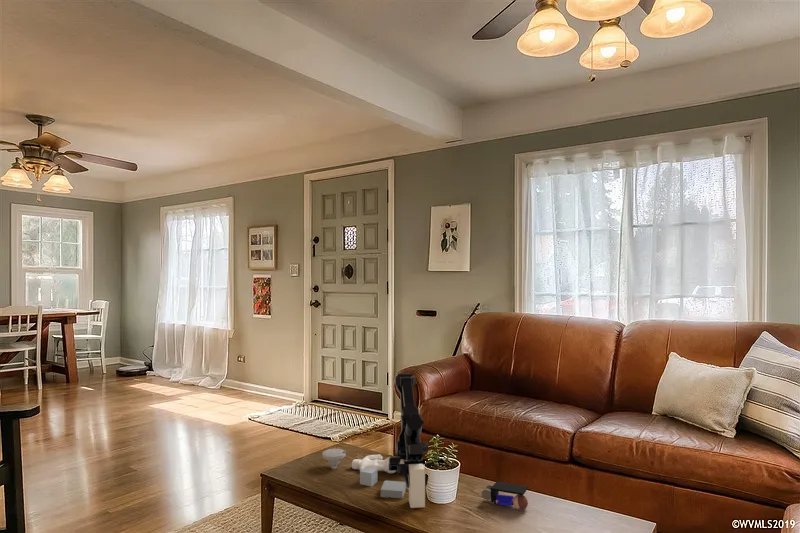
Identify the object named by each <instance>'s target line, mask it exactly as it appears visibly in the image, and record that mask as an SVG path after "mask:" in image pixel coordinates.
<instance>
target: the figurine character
mask: <svg viewBox="0 0 800 533" xmlns="http://www.w3.org/2000/svg"><path fill="white" fill-rule="evenodd" d="M528 489H529V486H528V485H522V484H515V483H509V482H502V481H498V480H497V481H495V483H494V484H492V483H490V484H487V486H486V487H485V488H484V489H483V490H482V491H481V496H482V498H483V499H484V500H486V501H489V500H490V502H488V505H494V506H497V505H501V506H510V507H514V508H515V509H516V510H518V511H524V510H526V509H527V507H528V506H529V505H528V504H529V501H528V498H527V496H525V493H526V492H527V491H528ZM500 492H503V493H507V494H513V495H514V496H513V495H506V494H499V493H500Z"/></svg>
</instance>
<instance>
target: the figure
mask: <svg viewBox="0 0 800 533" xmlns="http://www.w3.org/2000/svg"><path fill="white" fill-rule="evenodd" d="M390 457H391V456H389V457H387V458H385V459H383V456H382V455H381V453H379V454H371V455H365V457H363V458H362V459H361V458H360V459H358V458H357V459H356V458H355V459H353V460H352V462H351V467H352V469H353V470H358V471H359V472H360V471H361V470H362V469H364V468H365V467H371V468H377V472H379V471H380V472H381V471H384V472H385V473H387V474H389V475H391V474H394V473H397V470H396V471H390V470H389V466H388V463H389V458H390Z"/></svg>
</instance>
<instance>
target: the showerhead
mask: <svg viewBox="0 0 800 533" xmlns="http://www.w3.org/2000/svg"><path fill="white" fill-rule="evenodd" d="M346 453H347V450H344V449H342V448H329V449H325V450H324V451H323V452H322V458H323V459H324V460H327V464H328V465H330V466H331V467H330V468H331V469H332V470H334V469H337V466H338V465H339V464H340V462H341V460H342V459H343V458H345V457H346Z"/></svg>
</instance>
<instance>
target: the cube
mask: <svg viewBox="0 0 800 533" xmlns="http://www.w3.org/2000/svg"><path fill="white" fill-rule="evenodd" d="M377 482H378V471H377V468H371V467H365V468H364V469H362V470H361V471H360V470H359V485H362V486H367V487H373V486H374V485H375V484H377Z"/></svg>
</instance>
